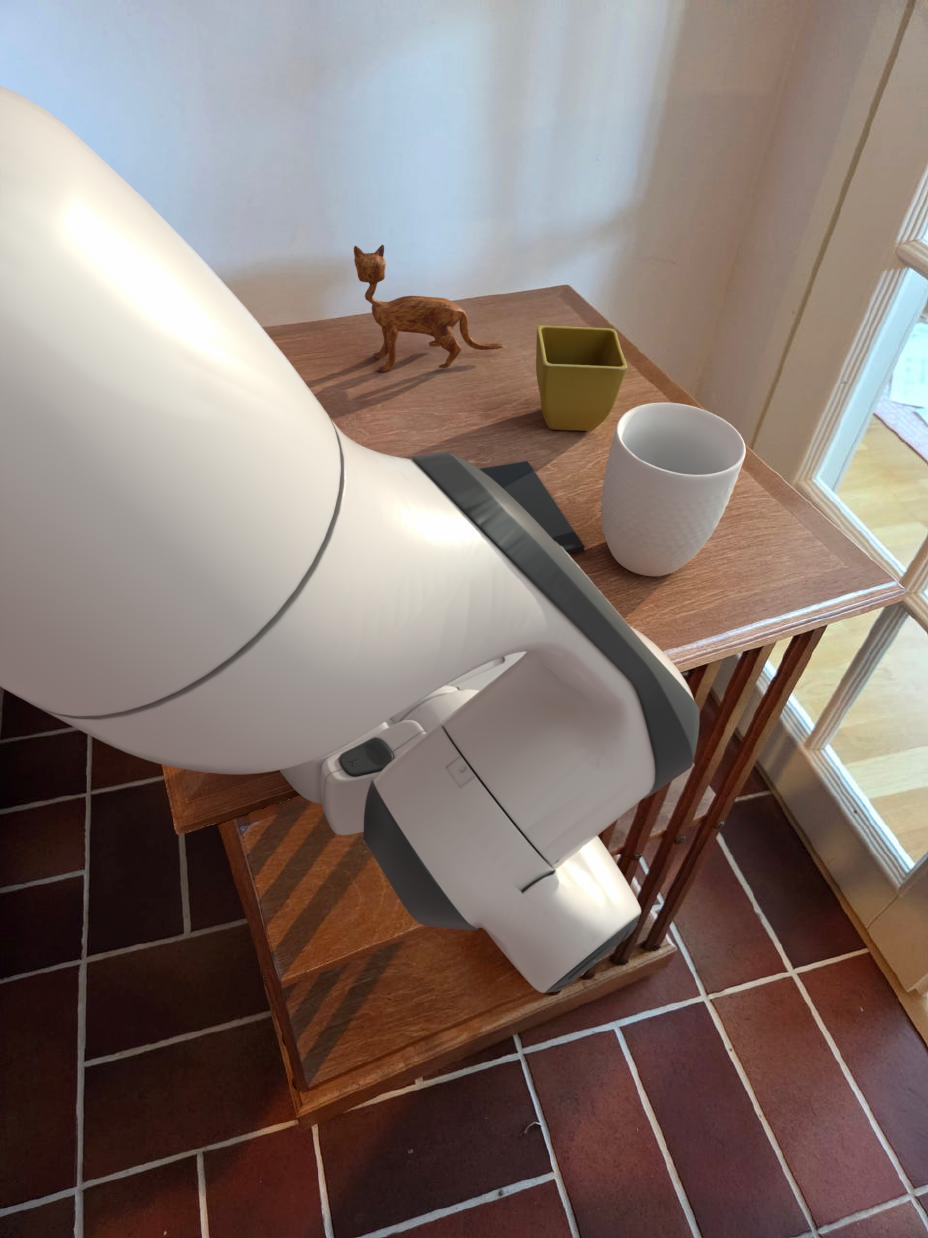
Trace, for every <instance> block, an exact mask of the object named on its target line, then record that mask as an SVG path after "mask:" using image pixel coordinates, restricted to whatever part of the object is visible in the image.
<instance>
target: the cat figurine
mask: <svg viewBox="0 0 928 1238" xmlns="http://www.w3.org/2000/svg"><path fill="white" fill-rule="evenodd" d="M353 255H354V267H355V269H356V273H357V278H358V281H359V282H362V283H368V284H369V286H368V288H367V290H366V291H365V293H364V298H365V300H366V301H367V302H369V303H370V304H371V314H372V316H373V319H374V321H375V323H376V324H377V325H379V326H380V327H381V332H382V335H383V344H382V345H381V348H380V350H379V351H377V352H374V353H373V357H374V358H376V359H382V358H385V357H386V356H388V358H387V360H386V361H385V363H384V365H382V366H379V367H378V368H377V370H378V371H379V372H383V373H384V372H388V371H390V370H391V369H392V368H393V367H394V366H395V364H396V359H397V351H396V350H397V349H396V344H397V339H398V335H399V333H398V332H402V333H413V334H422V335H428V336H430V337H432V338H434V340H431V341H429V342H428V345H429V347H433V348H438V347H441V348H442V349H444V350H445V351H447V352H448V356H447V358H446V360H445V363H442V364H439V366H438V368H439V369H447V368H450V366H451V365H452V363H453V362H454V361H455V360H456V359H457V357H458V356H459V355H460V353H461V351H462V347H461V346H460V344H459V342H458V341H457V339H456V337H455V335H454V333H453V332H452V330H453V329H454V327H455V326H456V325H457V323H458V322H459V323H458V324H459V332H460V335H461V337H462V339H463V341H464V342H465V344H466V345H467V346H469V348H472V349H474V350H479V351H490V350H500V349H503V348H504V347H505V346H504V344H503V343H497V342H495V343H493V342H492V343H483V342H479V341H477V340H474V339H473V338H472V337H471V335H470V331H469V319H468V315H467V313H466V311H465V310H464V309H463V307H461V306H460V305H459V304H457V303H456V302H454V301H452V300H450V299H447V298H444V297H435V296H434V297H433V296H423V295H405V296H401V297H398V298H395V299H393V300H389V301H382V300H381V301H380V300H377V299H375V298H374V295H375V293H376V291H377V286H378V283H380V282H382V281H384V280H385V278H386V263H387V262H386V260H385V258H384V255H385V245H384V244H381V245H380V246H379V247H378V248H377V249H376V250H375V252H367V253H366V252H364V251H363V250H362V249H361V248H360V247H358V246H357V245H354V246H353Z"/></svg>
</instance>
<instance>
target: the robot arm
mask: <svg viewBox="0 0 928 1238" xmlns="http://www.w3.org/2000/svg"><path fill="white" fill-rule="evenodd" d="M480 469H481V468H479V467H477V466H476V465H474V464H472V463H470V462H468V461H467V460H465V459H464V458H462V457H460V456H458V455H455V454H453V453H451V452H449V451H444V452H437V453H430V454H429V453H428V454H422V455H414V456H412V458H405V457H401V456H395V455H390V454H385V453H381V452H380V451H379V452H378V451H375V450H373V449H370V448H369V447H365V446H363V445H361V444H359V443H357V442H355V441H354V440H353V439H351V438H350V437H349V436H347V435H346V434H345V433H344V432H343V431H342V430H341V429H340V428H339V427H338V426H337V425H336V423H335V422H334V421H333V419H332V418H331V417H330V415H329V414H328V413H327V411H326V409H324V407H323V405H322V404H321V402H320V401H319V400H318V399H317V397H316V396H315V395H314V393H313V392H312V390H311V389H310V388H309V386H308V385H307V384H306V382H305V381H304V379H303V378H302V377H301V375H300V374H299V373H298V372H297V370H296V368H295V367H294V366H293V365H292V363H291V362H290V361H289V358H287V357H286V355H285V354H284V353H283V351H282V350H281V349H280V348H279V347H278V346H277V344H276V343H275V341H274V340H273V339H272V338H271V337H270V336H269V334H268V333H267V331H266V330H264V328H263V327H262V326H261V324H260V323H259V322H258V320H257V319H256V318H255V317H254V316H253V314H252V313H251V312H250V311H249V309H247V307H246V306H245V304H243V302H241V300H240V299H239V298H238V297H237V296H236V295H235V293H234V292H232V290H231V289H230V288H229V287H228V286H227V285H226V284H225V282H223V280H222V279H221V278H220V277H219V276H218V275H217V274H216V273H215V271H214V270H213V269H212V268H211V267H210V265H209V264H208V263H207V262H206V261H205V260H204V259H203V258H202V257H201V256H200V255H199V254H198V252H196V250H195V249H194V248H193V247H192V246H191V245H190V244H189V243H188V242H187V241H186V240H185V239H184V238H183V237H182V236H181V235H180V234H179V233H178V231H176V230H175V229H174V228H173V226H172V225H171V224H169V223H168V221H166V219H165V218H164V217H162V216H161V214H160V213H159V212H158V211H156V209H155V208H154V207H153V206H152V205H151V204H150V203H149V202H148V201H147V200H146V199H145V198H144V197H143V196H142V195H141V194H140V193H139V192H138V191H137V190H135V188H134V187H132V186H131V185H130V183H128V182H127V181H126V180H125V179H124V178H123V177H122V176H120V174H118V172H117V171H115V170H114V169H113V168H112V167H111V165H109V164H108V163H107V162H106V161H105V160H104V159H103V158H101V156H99V154H97V152H95V151H94V150H93V149H92V148H91V147H90V146H89V145H88V144H87V143H85V142H84V140H82V139H81V138H80V137H79V136H78V135H77V134H76V133H75V132H74V131H73V130H71V128H69V127H68V126H67V125H66V124H64V123H63V122H62V121H60V119H58V118H56V117H55V116H54V115H53V114H52V113H50V111H48V110H47V109H46V108H43V107H42V106H41V105H38V104H36V103H35V102H33V101H32V100H30V99H29V98H27V97H25V96H24V95H22V94H20V93H18V92H16V91H13V90H11V89H8V88H6V87H4V86H1V85H0V688H2V689H4V690H5V691H7V692H8V693H11V694H12V695H14V696H16V697H18V698H20V699H22V700H23V701H25V702H27V703H28V704H30V705H32V706H34V707H36V708H38V709H40V710H41V711H43V712H44V713H47V714H49V715H50V716H52V717H54V718H56V719H58V720H60V721H62V722H64V723H66V724H67V725H69V726H72V727H73V728H75V729H77V730H79V731H80V732H83V733H84V734H87V735H88V736H90V737H92V738H95V739H96V740H98V741H100V742H102V743H104V744H106V745H109V746H111V747H113V748H114V749H118V750H120V751H122V752H124V753H127V754H129V755H131V756H134V757H137V758H140V759H142V760H145V761H149V762H152V763H154V764H158V765H162V766H165V767H170V768H176V769H181V770H187V771H193V772H199V773H210V774H216V775H217V774H218V775H253V774H255V775H256V774H265V773H271V772H276V771H279V772H280V774H281V775H282V776H283V777H284V778H285V780H286V781H287V782H288V784H289V785H290V786H291V788H292V789H294V791H296V793H297V794H298V795H299V796H301V797H302V798H304V799H305V800H307V801H310V802H312V803H314V804H321V807H322V810H323V813H324V816H325V819H326V821H327V824H328V825H329V827H330V829H331V830H332V831H333V833H334V834H335V835H339V836H350V835H355V834H359V833H360V834H361V833H362V834H363V835H362V837H363V841H364V842H365V845H366V846H367V847H368V849H369V851H370V852H371V854H372V855H373V858H374V859H375V861H376V863H377V864H378V866H379V867H380V869H381V871H382V872H383V874H384V876H385V878H386V879H387V881H388V883H389V884H390V886H391V888H392V890H393V891H394V892H395V894H396V896H397V897H398V899H399V901H400V902H401V904H402V905H403V907H404V908H405V910H406V912H407V913H408V914H409V916H410V917H411V918H412V919H413V920H414V921H415V922H417V923H418V924H420V925H422V926H425V927H432V928H441V929H451V930H459V931H460V930H461V931H478V930H479V929H480V928H481V929H483V930H485V931H486V934H487V935H489V937H490V938H491V939H492V940H493V942H494V943H495V945H496V947H498V948H499V949H500V951H501V952H502V953H503V954H504V955H505V957H506V958H507V959H508V960H509V962H510V963H511V964H512V965H513V966H514V968H515V969H516V970H517V972H519V973H520V975H521V976H522V977H523V978H524V980H526V981H527V982H528V983H529V984H530V986H532V987H533V988H534V989H535V990H536V991H537V992H539V993H543V994H548V993H552V992H553V993H556V992H559V991H561V990H564V989H566V988H568V987H569V986H571V985H572V984H573V983H574V982H576V981H577V979H579V978H580V977H581V976H583V975H584V974H585V973H586V972H587V971H589V970H590V969H591V968H593V966H595V965H596V964H597V963H599V962H600V961H601V960H602V959H604V958H605V957H606V956H607V955H608V954H609V953H611V952H612V951H613V950H615V949H616V948H617V946H619V945H620V944H621V943H622V942H624V941H626V940H627V939H628V938H629V937H630V936H631V935H632V933H633V932H634V931H635V929H636V928H637V926H638V922H639V920H640V917H641V914H642V907H641V906H640V904H639V902H638V899H637V896H635V894H634V891H633V890H632V888H631V887H630V884H629V883H628V881H627V880H626V877H625V875H624V874H623V873H622V871H621V869H620V868H619V866H618V864H617V863H616V861H615V860H614V858H613V857H612V855H611V853H610V852H609V850H608V848H606V846H605V844H604V843H603V842H602V840H601V839H600V837H599V835H600V834H601V833H602V832H604V831H605V830H606V829H608V828H609V827H611V825H612V824H614V823H615V822H616V821H618V819H620V818H621V817H622V816H623V815H625V814H626V813H627V812H628V811H630V810H631V809H632V808H633V807H635V805H637V804H638V803H640V802H641V801H642V800H643V799H648V797H651V796H652V795H654V794H655V793H656V792H658V791H660V790H661V789H662V788H664V787H666V785H668V784H669V783H671V782H672V781H674V780H676V779H677V778H678V777H679V776H682V774H684V773H685V772H687V771H689V770H690V769H691V768H692V767H693V765H694V762H695V756H696V751H697V746H698V740H699V733H700V708H699V706H698V704H697V703H696V701H695V698H694V696H693V693H692V691H691V688H690V686H689V684H688V683H687V681H686V679H685V678H684V676H683V675H682V673H681V672H680V670H679V669H678V667H677V666H676V665H675V664H674V662H673V661H672V660H671V659H670V657H668V655H667V654H666V653H665V652H663V650H662V649H660V647H659V646H658V645H656V644H655V642H654V641H652V640H651V639H649V637H647V636H646V635H644V634H643V633H642V632H641V631H639V630H637V629H636V628H634V627H633V626H631V625H630V624H629V623H628V622H627V621H626V620H625V619H624V617H623V616H622V615H621V613H620V612H619V611H618V610H616V608H615V607H614V606H613V604H612V603H611V602H610V601H609V599H608V598H606V596H605V595H604V594H603V593H602V591H601V590H600V589H599V588H598V587H597V585H595V583H594V582H593V581H592V580H591V578H590V577H589V576H588V575H587V574H586V572H584V570H583V569H582V568H581V566H579V564H578V563H577V562H576V560H574V559H573V558H572V556H571V555H570V553H569V554H568V553H567V552H566V551H565V550H564V548H563V547H562V546H560V545H559V544H558V543H557V542H556V541H554V540H553V539H552V538H551V537H550V536H549V535H548V534H547V532H546V531H545V530H544V529H543V528H542V527H541V526H540V525H539V524H538V523H537V522H536V521H535V520H534V518H533V517H532V516H531V515H530V514H529V513H528V512H527V511H526V510H525V509H524V508H523V507H522V506H521V505H520V504H519V503H518V502H517V501H516V500H515V499H514V498H513V497H511V496H510V495H509V494H508V493H507V492H506V491H505V490H504V489H503V488H502V487H501V486H500V485H499V484H497V483H496V482H495V481H494V480H493V479H492V478H490V477H489V476H488V475H486V474H485V473H484V472H482V471H481V470H480Z"/></svg>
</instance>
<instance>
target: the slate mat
mask: <svg viewBox="0 0 928 1238" xmlns="http://www.w3.org/2000/svg"><path fill="white" fill-rule="evenodd" d="M479 469H480V470H481V471H482V472H484V473H485V474H486V475H488V476H489V477H490V478H492V479H493V480H494V481H495V482H496V483H497V484H499V485H500V486H501V487H502V488H503V489H504V490H505V491H506V492H507V493H508V494H509V495H510V496H511V497H513V498H514V499H515V500H516V501H517V502H518V503H519V504H520V505H521V506H522V507H523V508H524V509H525V510H526V511H527V512H528V513H529V514H530V515H531V516H532V517H533V518H534V520H535V521H536V522H537V523H538V524H539V525H540V526H541V527H542V528H543V529H544V530H545V531H546V532H547V534H548V535H549V536H550V537H551V538H552V539H553V540H554V541H556V542H557V543H558V544H559V545H560V546H562V547H563V548H564V550H565V551H566V552H567V553H568V554H569V555H570V554H574V553H580V552H584V550H585V548H586V547H585V545H584V543H583V542H582V540H581V538H580V537H579V536H578V534H577V533H576V530H575V529H574V528H573V527H572V525H571V524H570V523H569V520H568V519H567V518H566V516H565V515H564V513H563V512H562V510H561V508H560V507H559V506H558V504H557V502H556V501H555V500H554V498H553V496H552V495H551V493H549V490H548V489H547V488H546V486H545V485H544V483H543V482H542V480H541V478H539V476H538V474H537V473H536V471H535V470H534V469H533V467H532V466H531V464H530V463H529V461H528V460H526V461H525V460H524V461H519V462H513V463H507V464H500V465H494V466H489V467H482V468H479Z"/></svg>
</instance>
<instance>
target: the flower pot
mask: <svg viewBox="0 0 928 1238" xmlns="http://www.w3.org/2000/svg"><path fill="white" fill-rule="evenodd" d="M535 350H536V352H535V353H536V354H535V372H536V380H537V387H538V392H539V398H540V405H541V412H542V416H543V419H544V421H545V424H546V425H547V428H548V429H550V430H554V431H555V430H556V431H581V432H582V431H583V432H592V431H594V430H596V428H598V427H599V426H600V425H601V424H602V423H603V422H605V420H607V418H608V417H609V415H610V413H611V412H612V410H613V408H614V406H615V404H616V401H617V398H618V396H619V393H620V390H621V387H622V385H623V382H624V379H625V376H626V373H627V370H628V364H627V360H626V359H625V356H624V353H623V351H622V348H621V344H620V339H619V336H618V333H617V331H616V329H615V328H609V327H608V328H607V327H585V326H565V325H563V326H562V325H540V324H539V325H538V326H537V327H536V349H535Z"/></svg>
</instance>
